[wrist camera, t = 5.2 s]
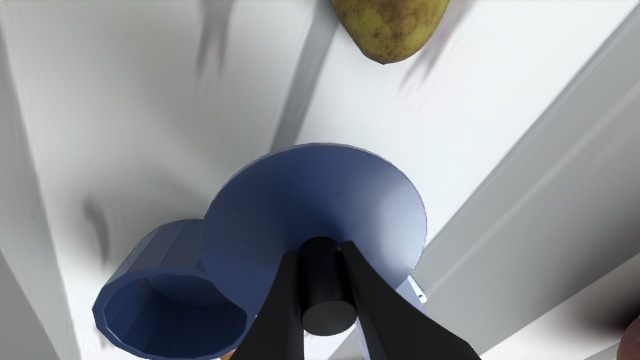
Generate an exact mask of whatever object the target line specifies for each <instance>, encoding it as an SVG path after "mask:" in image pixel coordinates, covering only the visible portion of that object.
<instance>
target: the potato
mask: <svg viewBox="0 0 640 360" xmlns="http://www.w3.org/2000/svg"><path fill="white" fill-rule="evenodd" d="M449 1H450V0H332V4H333V6H334V9H335V12H336V14H337V16H338V18H339V20H340V21H341V23H342V25H343V26H344V28H345V29H346V31H347V32H348V33H349V35H350V36H351V37H352V39H353V40H354V42H355V43H356V45H357V46H358V48H359V49H360V50H361V52H362V53H363V54H364V55H365V56H366V57H368V58H369V59H371V60H373V61H376V62H378V63H380V64H383V65H384V64H386V63H387V64H388V63H395V62H399V61H402V60H405V59H407V58H408V57H410V56H412V55H413V54H415V53H416V52H417V51H419V50H420V49H421V48H422V47H423V46H424V45H425V44H426V43H427V41H428V40H429V39H430V37H431V36H432V35H433V33H434V31H435V29H436V28H437V26H438V24H439V22H440V21H441V19H442V17H443V15H444V12H445V10H446V8H447V6H448V4H449Z"/></svg>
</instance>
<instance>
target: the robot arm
mask: <svg viewBox="0 0 640 360" xmlns="http://www.w3.org/2000/svg"><path fill="white" fill-rule="evenodd" d="M340 245H341V253H342V256H343V260H344V264H345V267H346V271H347V274H348V278H349V282H350V285H351V289H352V293H353V296H354V300H355V304H356V307H357V311H358V315H357V319H356V321H355V326H356V330H357V334H358V338H359V342H360V346H361V350H362V354H363V358H364V360H481V358H480V357H479V356H478V355H477V353H476V352H475V351H474V350H473V348H472V347H471V346H470V345H469V344H468V342H466V341H465V340H463V339H461V338H460V337H458V336H456V335H455V334H453V333H451V332H450V331H448V330H447V329H445V328H444V327H442V326H441V325H439V324H438V323H436V322H435V321H433V320H432V319H430V318H429V316H428V314H427V312H426V311H425V309H424V307H423V305H422V303H424V302H426V301H427V297H426V295H425V294H424V293H423V291H422V290H421V289H420V287H419V286H418V285H417V283H416V282H415V281H414V279H413V278H412V277H411V275H409V276H408V277H407V278H406V280H405V281H404V282H403V283H402V284H401V285H400V286H399V287H398V288H397V289H396V290H394V289H393V288H392V287H391V286H390V285H389V284H388V283H387V282H386V281H385V280H384V279H383V278H382V277H381V276H380V275H379V274H378V273H377V272H376V270H375V269H374V268H373V267H372V266H371V265H370V264H369V262H368V261H367V260H366V259H365V257H364V256H363V255H362V253H361V252H360V251H359V249H358V248H357V246H356V245H355V243H354V242H353V241H352V240H350V241H344V242H340ZM229 360H304V329H303V327H302V325H301V322H300V301H299V276H298V259H297V255H296V251H291V252H286V253H284V254H283V255H282V258H281V262H280V265H279V268H278V271H277V273H276V276H275V279H274V281H273V283H272V286H271V288H270V291H269V293H268V295H267V297H266V299H265V301H264V303H263V305H262V307H261V309H260V311H259V313H258V315H257V317H256V318H255V320H254V322H253V324H252V325H251V327H250V329H249V330H248V332H247V333H246V335H245V337H244V338H243V340H242V341H241V343H240V344H239V346H238V347H237V349H236V350H235V351H234V353H233V354H232V356H231V357H230V358H229Z"/></svg>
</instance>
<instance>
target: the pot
mask: <svg viewBox="0 0 640 360" xmlns="http://www.w3.org/2000/svg"><path fill="white" fill-rule="evenodd" d="M203 221H204V220H196V219H193V220H181V221H175V222H172V223H168V224H166V225H163V226H161V227H159V228H157V229H155V230H154V231H152V232H151V233H150V234H148V235H147V236H146V237H145V238H144V239H142V240H141V241H140V243H139V244H138V245H137V246H136V248H135V249H134V250H133V251H132V252H131V254H130V255H129V256H128V257H127V258H126V260H125V261H124V262H123V263H122V264H121V266H120V267H119V268H118V269H117V270H116V272H115V273H114V274H113V275H112V276H111V278H110V279H109V280H108V281H107V283H106V284H105V285H104V286H103V287H102V289H101V291H100V293H99V295H98V297H97V299H96V301H95V303H94V305H93V307H92V311H93V315H94V319H95V323H96V327H97V328H98V330H99V331H100V332H101V333H102V334H103V335H104V336H105V337H106V338H107V339H108V340H109V341H110V342H111V343H112V344H113V345H114V346H116V347H118V348H120V349H122V350H125V351H127V352H129V353H131V354H133V355H135V356H137V357H140V358H145V359H149V360H211V359H215V358H220V357H222V356H224V355H225V354H227V353H229V352H231V351H233V350H235V349H237V347H238V346H239V344H240V343H241V341H242V340H243V338H244V337H245V335H246V333H247V332H248V330H249V329H250V327H251V325H252V324H253V322H254V320H255V318H256V315H255V314H252V313H250V312H248V311H246V310H244V309H242V308H240V307H239V306H237V305H236V304H234V303H232V302H231V301H230V300H229V299H228V298H226V297H225V296H224V295H223V294H222V293H221V292H220V291H219V290H218V289H217V287H216V286H215V285H214V284H213V282H212V281H211V279H210V277H209V276H208V274H207V271H206V269H205V267H204V264H203V260H202V256H201V248H200V236H201V228H202V225H203Z"/></svg>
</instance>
